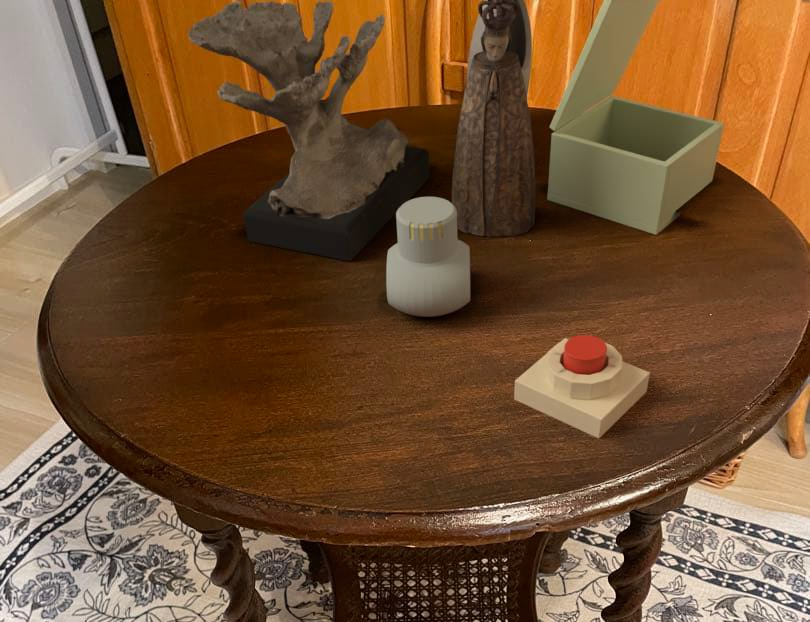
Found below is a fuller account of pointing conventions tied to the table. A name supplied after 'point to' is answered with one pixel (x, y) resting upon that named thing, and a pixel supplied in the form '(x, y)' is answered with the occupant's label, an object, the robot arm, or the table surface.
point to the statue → (495, 137)
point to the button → (584, 355)
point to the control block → (582, 390)
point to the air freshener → (428, 260)
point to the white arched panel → (520, 39)
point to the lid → (604, 56)
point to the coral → (315, 131)
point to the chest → (632, 162)
